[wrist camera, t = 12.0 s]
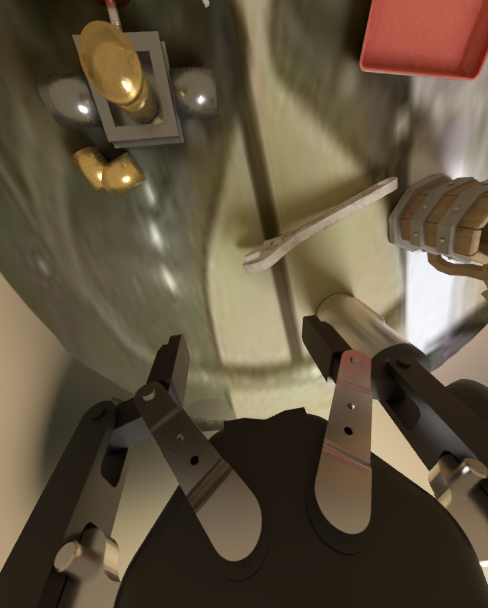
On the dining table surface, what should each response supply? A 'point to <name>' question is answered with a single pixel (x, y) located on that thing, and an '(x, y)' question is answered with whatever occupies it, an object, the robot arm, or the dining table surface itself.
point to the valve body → (117, 124)
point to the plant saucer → (426, 38)
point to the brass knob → (116, 70)
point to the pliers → (205, 3)
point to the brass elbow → (108, 171)
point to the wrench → (314, 227)
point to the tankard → (445, 224)
